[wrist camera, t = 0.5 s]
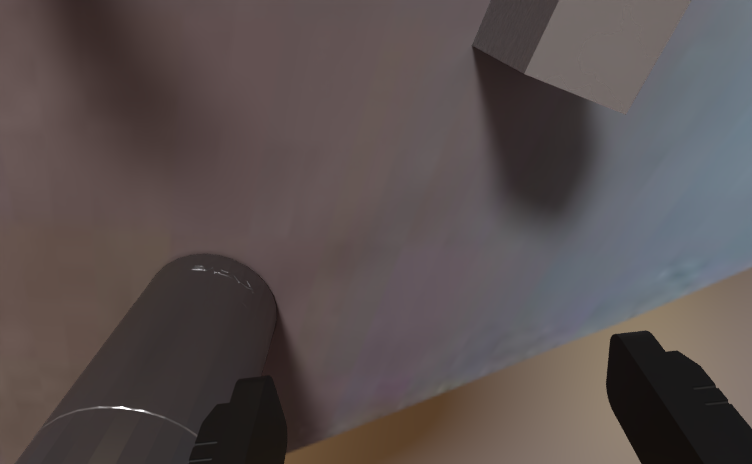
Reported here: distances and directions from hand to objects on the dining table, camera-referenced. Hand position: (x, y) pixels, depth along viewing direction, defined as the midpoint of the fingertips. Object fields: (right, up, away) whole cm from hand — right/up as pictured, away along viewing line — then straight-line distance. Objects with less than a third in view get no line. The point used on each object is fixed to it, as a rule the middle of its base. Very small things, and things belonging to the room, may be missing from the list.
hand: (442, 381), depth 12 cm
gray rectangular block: (+7, +16, +17) cm, 24 cm away
